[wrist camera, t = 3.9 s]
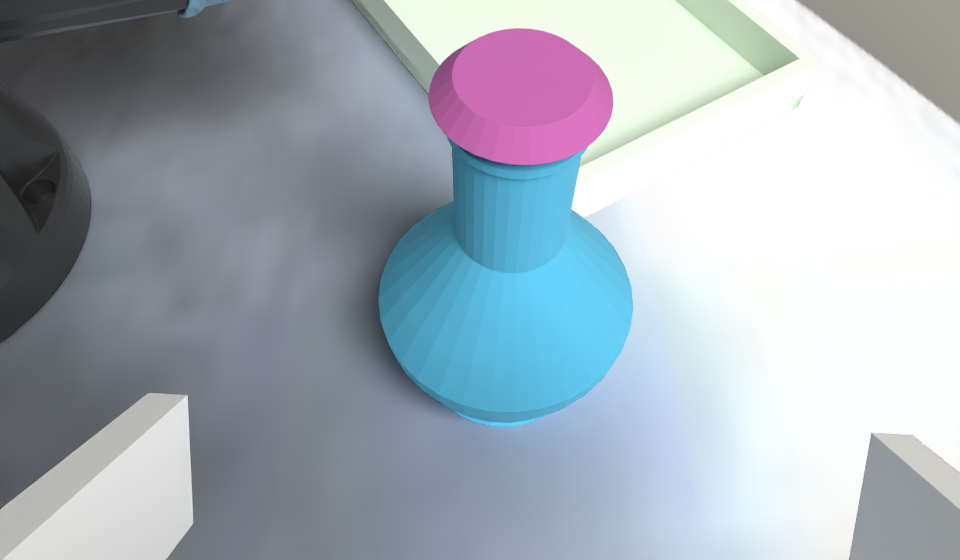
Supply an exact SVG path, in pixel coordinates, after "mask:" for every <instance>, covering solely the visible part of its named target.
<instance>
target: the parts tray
mask: <svg viewBox="0 0 960 560" xmlns="http://www.w3.org/2000/svg"><path fill="white" fill-rule="evenodd" d="M351 1H352V2H353V3H354V4H355V5H356V7H357V8H358V9H359V10H360V11H361V13H362V14H363V15H364V16H365V18H366V19H367V20H368V21H369V22H370V24H371V25H372V26H373V27H374V29H375V30H376V31H377V32H378V33H379V35H380V36H381V37H382V38H383V40H384V41H385V42H386V43H387V44H388V46H389V47H390V48H391V49H392V51H393V52H394V53H395V54H396V55H397V57H398V58H399V59H400V60H401V61H402V63H403V64H404V65H405V66H406V68H407V69H408V70H409V71H410V72H411V74H412V75H413V76H414V77H415V79H416V80H417V81H418V82H419V83H420V85H421V86H422V87H423V88H424V90H425V91H426V92H427V93H428V94H429V90H430V84H431V81H432V79H433V76H434V73H435V72H436V70H437V69H438V68H439V66H440V65H441V63H442V62H443V61H444V60H445V59H446V58H447V57H448V56H450V55H451V54H452V53H453V52H454V51H456V50H458V49H459V48H461V47H462V46H464V45H466V44H468V43H469V42H471V41H473V40H475V39H477V38H479V37H481V36H484V35H486V34H489V33H491V32H495V31H499V30H503V29H513V28H525V29H535V30H541V31H545V32H548V33H551V34H555V35H557V36H559V37H561V38H563V39H565V40H567V41H568V42H570V43H571V44H573V45H574V46H576V47H577V48H578V49H580V50H581V51H583V52H584V53H585V54H587V55H588V56H590V57H591V58H592V59H593V60H594V61H595V62H596V63H597V64H598V65H599V66H600V67H601V69H602V70H603V72H604V73H605V75H606V76H607V78H608V80H609V83H610V86H611V88H612V91H613V103H614V105H613V110H612V115H611V118H610V120H609V122H608V124H607V126H606V128H605V130H604V131H603V132H602V133H601V135H600V136H599V137H598V138H597V139H596V140H595V141H594V142H593V143H592V144H590V145H589V146H588V148H587V150H586V151H585V152H584V154H583V155H582V156H581V160H580V166H579V171H578V176H577V181H576V187H575V192H574V197H573V203H572V208H571V209H572V210H573V211H575V212H576V213H578V214H579V215H580V216H582V217H583V218H585V217H587V216H588V215H590V214H592V213H594V212H596V211H598V210H600V209H602V208H604V207H606V206H608V205H610V204H611V203H613V202H615V201H617V200H619V199H621V198H623V197H625V196H627V195H629V194H631V193H633V192H635V191H636V190H638V189H640V188H642V187H644V186H646V185H648V184H650V183H652V182H654V181H656V180H658V179H659V178H661V177H663V176H665V175H667V174H669V173H671V172H673V171H675V170H677V169H679V168H681V167H683V166H684V165H686V164H688V163H690V162H692V161H694V160H696V159H698V158H700V157H702V156H704V155H706V154H708V153H709V152H711V151H713V150H715V149H717V148H719V147H721V146H723V145H725V144H727V143H729V142H731V141H732V140H734V139H736V138H738V137H740V136H742V135H744V134H746V133H748V132H750V131H752V130H754V129H756V128H757V127H759V126H761V125H763V124H765V123H767V122H769V121H771V120H773V119H775V118H777V117H779V116H780V115H782V114H784V113H786V112H788V111H790V110H792V109H794V108H796V107H797V106H798V104H799V103H800V101H801V99H802V97H803V95H804V93H805V91H806V89H807V87H808V85H809V83H810V81H811V79H812V77H813V75H814V74H815V72H816V70H817V68H818V66H819V64H820V61H819V60H818V59H817V58H815V57H814V56H813V55H812V54H810V53H809V52H808V51H806V50H805V49H804V48H803V47H801V46H800V45H799V44H798V43H796V42H795V41H794V40H793V39H791V38H790V37H789V36H788V35H786V34H785V33H784V32H783V31H781V30H780V29H779V28H778V27H776V26H775V25H774V24H773V23H771V22H770V21H769V20H768V19H766V18H765V17H764V16H763V15H761V14H760V13H759V12H758V11H756V10H755V9H754V8H753V7H751V6H750V5H749V4H748V3H746V2H745V1H744V0H351Z"/></svg>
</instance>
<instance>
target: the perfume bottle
mask: <svg viewBox="0 0 960 560" xmlns="http://www.w3.org/2000/svg"><path fill="white" fill-rule="evenodd" d="M429 103H430V109H431V112H432V114H433V117H434V119H435V121H436V123H437V125H438V126H439V127H440V128H441V130H442V131H443V132H444V133H445V135H446V136H447V138H448V140H449V142H450V144H451V146H452V157H453V189H454V201H453V202H451V203H448V204H446V205H444V206H442V207H440V208H438V209H436V210H435V211H433V212H431V213H430V214H428V215H427V216H425V217H424V218H423V219H421V220H420V221H418V222H417V223H416V224H414V225H413V226H412V227H411V228H410V230H409V231H408V232H407V233H406V234H405V235H404V236H403V237H402V238H401V239H400V240H399V242H398V243H397V245H396V246H395V248H394V249H393V251H392V253H391V254H390V256H389V257H388V260H387V263H386V265H385V268H384V271H383V273H382V276H381V281H380V289H379V297H378V301H379V311H380V321H381V324H382V326H383V329H384V332H385V335H386V338H387V341H388V344H389V346H390V348H391V350H392V352H393V354H394V356H395V357H396V359H397V361H398V362H399V364H400V366H401V367H402V369H403V370H404V372H405V373H406V374H407V375H408V376H409V377H410V378H411V379H412V380H413V381H414V382H415V383H416V385H417V386H418V387H419V388H420V389H422V390H423V391H424V392H426V393H427V394H429V395H430V396H431V397H433V398H434V399H436V400H437V401H439V402H440V403H441V404H443V405H444V406H446V407H448V408H450V409H451V410H453V411H454V412H456V413H457V414H458V415H460V416H462V417H464V418H466V419H469V420H471V421H473V422H476V423H480V424H485V425H489V426H505V427H508V426H515V425H521V424H526V423H528V422H531V421H534V420H537V419H539V418H541V417H543V416H544V415H547V414H550V413H553V412H556V411H558V410H560V409H562V408H564V407H566V406H568V405H569V404H571V403H573V402H574V401H576V400H578V399H579V398H581V397H583V396H584V395H586V394H587V393H588V392H589V391H590V390H591V389H592V388H593V387H594V386H596V385H597V384H598V383H599V382H600V381H601V380H602V379H603V377H604V376H605V375H606V373H607V372H608V370H609V369H610V367H611V366H612V364H613V363H614V361H615V360H616V358H617V357H618V355H619V354H620V352H621V351H622V348H623V346H624V343H625V341H626V338H627V336H628V333H629V331H630V326H631V319H632V312H633V302H632V291H631V285H630V282H629V278H628V275H627V272H626V269H625V266H624V264H623V262H622V261H621V259H620V257H619V255H618V254H617V252H616V250H615V248H614V247H613V246H612V245H611V243H610V242H609V241H608V240H607V239H606V238H605V236H604V235H603V234H602V233H601V232H600V231H599V230H598V229H597V228H595V227H594V226H593V225H592V224H590V223H589V222H588V221H587V220H586V219H584V218H583V217H582V216H580V215H579V214H578V213H576V212H575V211H573V210H572V209H571V208H572V203H573V197H574V192H575V187H576V181H577V176H578V171H579V166H580V160H581V156H582V155H583V154H584V152H585V151H586V150H587V148H588V146H589V145H590V144H592V143H593V142H594V141H595V140H596V139H597V138H598V137H599V136H600V135H601V133H602V132H603V131H604V130H605V128H606V126H607V124H608V122H609V120H610V118H611V115H612V110H613V105H614V103H613V91H612V88H611V86H610V83H609V80H608V78H607V76H606V75H605V73H604V72H603V70H602V69H601V67H600V66H599V65H598V64H597V63H596V62H595V61H594V60H593V59H592V58H591V57H590V56H588V55H587V54H585V53H584V52H583V51H581V50H580V49H578V48H577V47H576V46H574V45H573V44H571V43H570V42H568V41H567V40H565V39H563V38H561V37H559V36H557V35H555V34H551V33H548V32H545V31H541V30H535V29H525V28H513V29H503V30H499V31H495V32H491V33H489V34H486V35H484V36H481V37H479V38H477V39H475V40H473V41H471V42H469V43H468V44H466V45H464V46H462V47H461V48H459V49H458V50H456V51H454V52H453V53H452V54H451V55H450V56H448V57H447V58H446V59H445V60H444V61H443V62H442V63H441V65H440V66H439V68H438V69H437V70H436V72H435V73H434V76H433V79H432V81H431V84H430V90H429Z"/></svg>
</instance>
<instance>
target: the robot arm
mask: <svg viewBox="0 0 960 560" xmlns="http://www.w3.org/2000/svg"><path fill="white" fill-rule="evenodd" d="M230 1H234V0H0V43H2V42H8V41H13V40H19V39H25V38H30V37H36V36H41V35H47V34H53V33H58V32H64V31H70V30H75V29H81V28H87V27H92V26H98V25H104V24H109V23H115V22H121V21H126V20H132V19H138V18H143V17H149V16H154V15H160V14H166V13H171V12H177V13H178V15H179V17H181V18H188V17H193V16H195V15H197V14H198V13H199V12H201V11H202V9H203V8H204V7H207V6H212V5H216V4H221V3H225V2H230ZM90 207H91V200H90V191H89V187H88V182H87V179H86V176H85V174H84V172H83V170H82V167H81V166H80V164H79V162H78V161H77V159H76V158H75V156H74V155H73V153H72V152H71V151H70V149H69V148H68V146H67V145H66V143H65V142H64V140H63V139H62V137H61V136H60V135H59V133H58V132H57V131H56V129H55V128H54V127H53V126H52V125H51V124H50V123H49V122H48V121H47V120H46V119H45V118H44V117H43V116H42V115H41V114H40V113H39V112H37V111H36V110H35V109H33V108H32V107H30V106H29V105H28V104H26V103H25V102H23V101H22V100H20V99H19V98H18V97H16V96H15V95H13V94H12V93H11V92H9V91H8V90H6V89H5V88H3V87H2V86H1V85H0V342H1V341H2V340H3V339H5V338H6V337H7V336H9V335H10V334H11V333H13V332H14V331H15V330H17V329H18V328H19V327H20V326H21V325H23V324H24V323H25V322H26V321H27V320H28V319H29V318H30V317H31V316H33V315H34V314H35V313H36V312H37V311H38V310H39V309H40V308H41V307H42V306H43V305H44V304H45V303H46V301H47V300H48V299H49V298H50V297H51V296H52V294H53V293H54V292H55V291H56V289H57V288H58V287H59V286H60V284H61V283H62V282H63V280H64V279H65V277H66V276H67V274H68V273H69V271H70V269H71V268H72V266H73V264H74V262H75V261H76V259H77V256H78V254H79V252H80V250H81V248H82V245H83V242H84V240H85V236H86V233H87V230H88V225H89V220H90ZM192 524H193V503H192V481H191V460H190V438H189V416H188V395H177V394H159V393H148V394H146V395H145V396H144V397H143V398H141V399H140V400H139V401H137V402H136V403H135V404H134V405H132V406H131V407H130V408H129V409H127V410H126V411H125V412H123V413H122V414H121V415H120V416H118V417H117V418H116V419H115V420H113V421H112V422H111V423H109V424H108V425H107V426H106V427H104V428H103V429H102V430H101V431H99V432H98V433H97V434H95V435H94V436H93V437H92V438H90V439H89V440H88V441H87V442H85V443H84V444H83V445H81V446H80V447H79V448H78V449H76V450H75V451H74V452H73V453H71V454H70V455H69V456H67V457H66V458H65V459H64V460H62V461H61V462H60V463H58V464H57V465H56V466H55V467H53V468H52V469H51V470H50V471H48V472H47V473H46V474H44V475H43V476H42V477H41V478H39V479H38V480H37V481H36V482H34V483H33V484H32V485H30V486H29V487H28V488H27V489H25V490H24V491H23V492H22V493H20V494H19V495H18V496H16V497H15V498H14V499H13V500H11V501H10V502H9V503H8V504H6V505H5V506H4V507H2V508H1V509H0V560H166V559H167V557H168V556H169V555H170V553H171V552H172V551H173V549H174V548H175V547H176V546H177V544H178V543H179V542H180V540H181V539H182V538H183V536H184V535H185V534H186V532H187V531H188V530H189V528H190V527H191V526H192ZM849 560H960V472H959V471H957V470H956V469H955V468H953V467H952V466H951V465H950V464H948V463H947V462H946V461H945V460H943V459H942V458H941V457H939V456H938V455H937V454H936V453H934V452H933V451H932V450H931V449H929V448H928V447H927V446H925V445H924V444H923V443H922V442H920V441H919V440H918V439H917V438H915V437H914V436H913V435H901V434H883V433H871V439H870V444H869V450H868V456H867V461H866V467H865V472H864V478H863V484H862V489H861V495H860V500H859V506H858V512H857V517H856V523H855V529H854V534H853V540H852V545H851V551H850V557H849Z"/></svg>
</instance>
